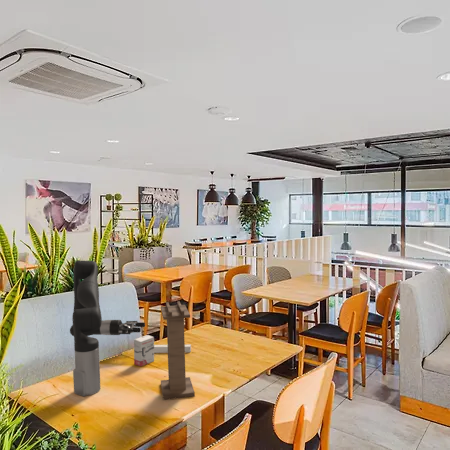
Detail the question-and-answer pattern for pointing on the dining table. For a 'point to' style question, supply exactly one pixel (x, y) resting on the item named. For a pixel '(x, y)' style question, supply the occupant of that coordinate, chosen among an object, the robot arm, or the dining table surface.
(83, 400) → the dining table surface
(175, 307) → the wooden pedestal post
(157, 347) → the cream white long bar
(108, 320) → the robot arm
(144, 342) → the ink box
